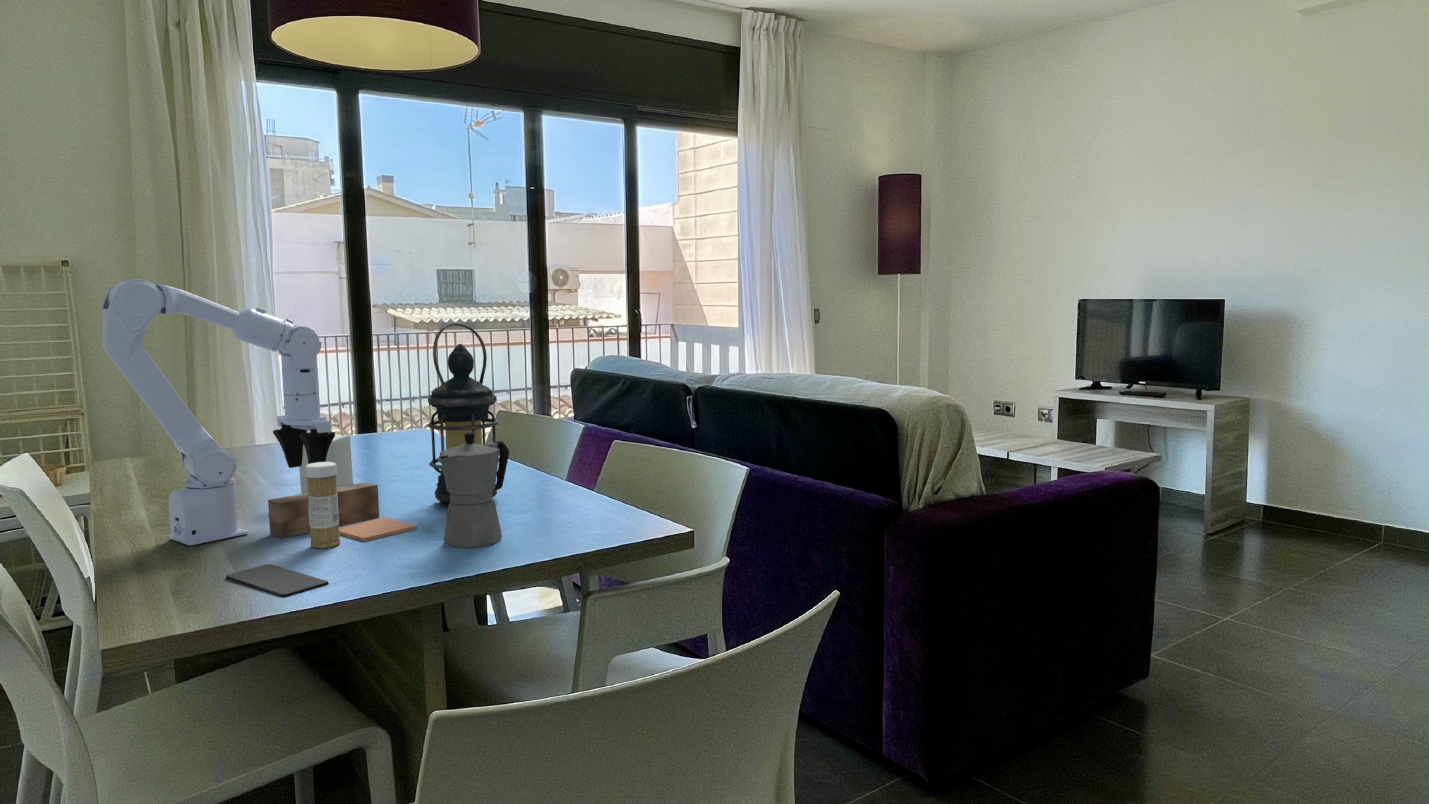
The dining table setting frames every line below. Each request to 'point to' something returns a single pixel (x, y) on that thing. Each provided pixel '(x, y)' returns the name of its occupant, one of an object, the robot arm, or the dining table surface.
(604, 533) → the dining table surface
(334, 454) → the supplement box
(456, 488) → the coffeepot
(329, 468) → the sprinkles bottle
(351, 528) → the pad
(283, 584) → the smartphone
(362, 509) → the long brown wooden block
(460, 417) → the lantern
